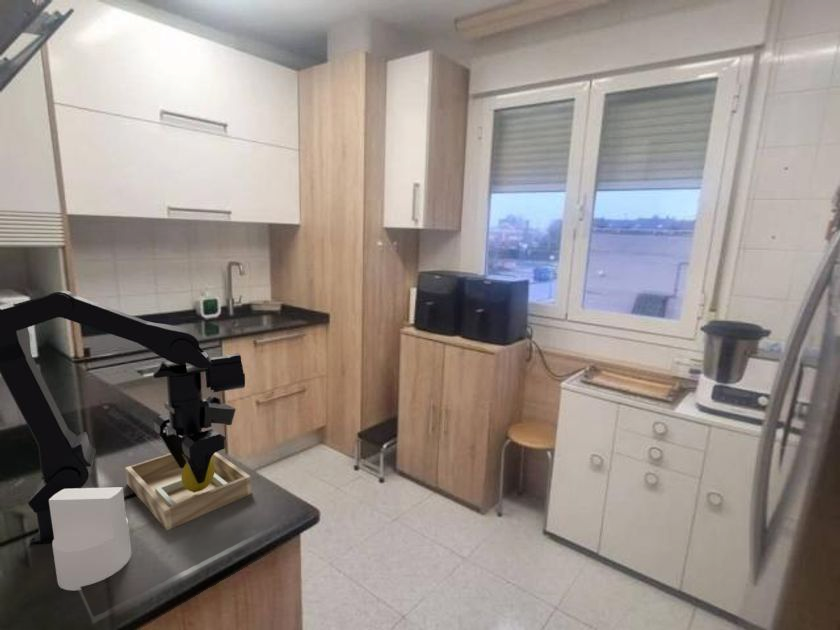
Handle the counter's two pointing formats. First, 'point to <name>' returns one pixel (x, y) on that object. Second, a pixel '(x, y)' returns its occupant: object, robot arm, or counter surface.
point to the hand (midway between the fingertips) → (192, 474)
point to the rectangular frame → (177, 484)
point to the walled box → (187, 503)
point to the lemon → (191, 482)
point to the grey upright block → (89, 535)
